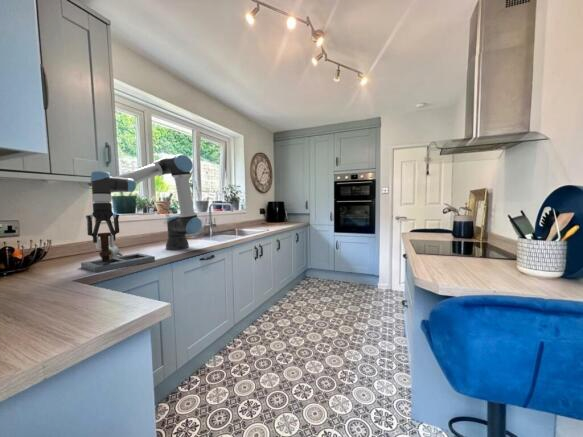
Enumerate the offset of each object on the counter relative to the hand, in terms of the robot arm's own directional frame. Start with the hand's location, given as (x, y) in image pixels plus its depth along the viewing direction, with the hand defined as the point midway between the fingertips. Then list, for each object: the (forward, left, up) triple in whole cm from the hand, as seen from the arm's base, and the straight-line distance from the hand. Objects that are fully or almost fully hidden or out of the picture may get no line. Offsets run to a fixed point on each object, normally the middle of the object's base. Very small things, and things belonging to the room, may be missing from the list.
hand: (105, 248), depth 123 cm
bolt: (0, 0, -8) cm, 8 cm away
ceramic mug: (-10, -21, -10) cm, 25 cm away
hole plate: (-6, 0, -10) cm, 11 cm away
